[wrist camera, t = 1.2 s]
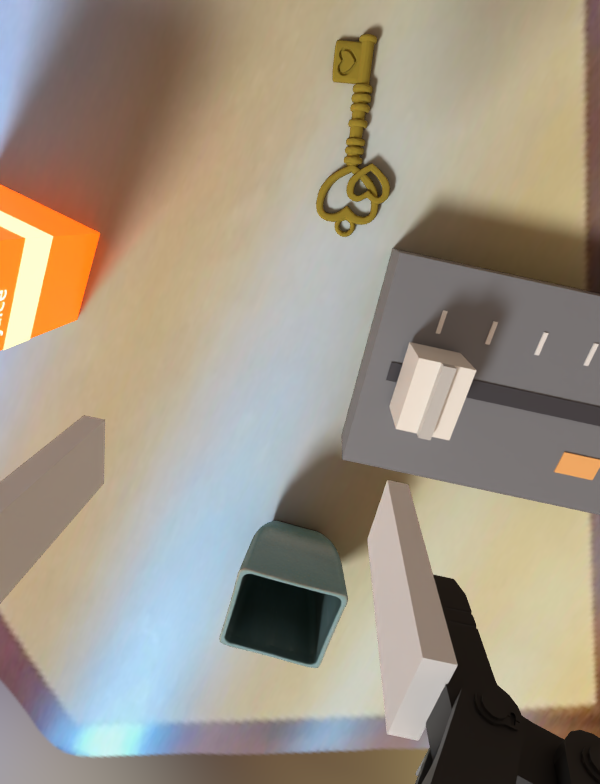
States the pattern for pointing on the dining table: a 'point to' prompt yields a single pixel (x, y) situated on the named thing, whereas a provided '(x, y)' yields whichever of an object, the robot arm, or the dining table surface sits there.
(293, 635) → the flower pot
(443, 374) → the slider cap
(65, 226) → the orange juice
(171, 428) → the dining table surface
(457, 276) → the dimmer console
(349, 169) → the key
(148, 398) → the dining table surface
